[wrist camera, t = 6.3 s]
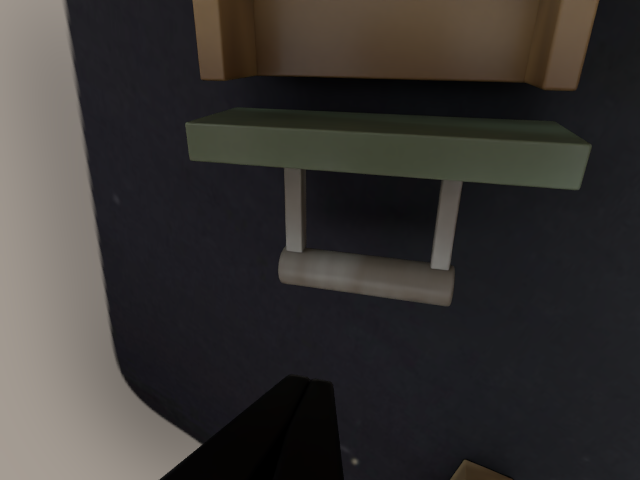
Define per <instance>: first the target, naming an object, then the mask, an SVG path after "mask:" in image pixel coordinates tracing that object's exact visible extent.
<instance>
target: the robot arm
mask: <svg viewBox="0 0 640 480" xmlns="http://www.w3.org/2000/svg"><path fill="white" fill-rule="evenodd" d="M160 480H344V477H343V468H342V459H341V450H340V441H339V433H338V424H337V415H336V406H335V397H334V388H333V384H332V383H331V382H330V381H324V380H319V379H312V380H310V379H309V378H308V377H304V376H299V375H293V374H290V375H288V376H286V377H285V378H284V379H283V380H281V381H280V382H279V383H278V384H276V385H275V386H274V387H273V388H272V389H270V390H269V391H268V392H267V393H265V394H264V395H263V396H262V397H260V398H259V399H258V400H257V401H256V402H254V403H253V404H252V405H251V406H249V407H248V408H247V409H246V410H244V411H243V412H242V413H241V414H240V415H238V416H237V417H236V418H235V419H233V420H232V421H231V422H230V423H229V424H227V425H226V426H225V427H224V428H222V429H221V430H220V431H219V432H217V433H216V434H215V435H214V436H213V437H211V438H210V439H209V440H208V441H206V442H205V443H204V444H203V445H201V446H200V447H199V448H198V449H197V450H195V451H194V452H193V453H192V454H190V455H189V456H188V457H187V458H185V459H184V460H183V461H182V462H181V463H179V464H178V465H177V466H176V467H174V468H173V469H172V470H171V471H170V472H168V473H167V474H166V475H165V476H163V477H162V478H161V479H160Z"/></svg>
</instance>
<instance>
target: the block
mask: <svg viewBox="0 0 640 480" xmlns="http://www.w3.org/2000/svg"><path fill="white" fill-rule="evenodd" d="M450 480H513V479H511V478H508V477H506V476H504V475H501V474H499V473H496V472H494V471H492V470H489V469H487V468H484V467H482V466H480V465H477V464H475V463H472V462H470V461H468V460H464V461H463V462H462V464H461V465H460V466H459V468H458V469H457V471H456V472H455V473H454V475H453V476H452V478H451V479H450Z"/></svg>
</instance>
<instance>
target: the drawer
mask: <svg viewBox="0 0 640 480" xmlns="http://www.w3.org/2000/svg"><path fill="white" fill-rule="evenodd" d="M598 3H599V0H193V9H194V19H195V29H196V38H197V48H198V57H199V67H200V77H201V79H202V80H210V81H227V80H233V79H239V78H246V77H252V76H285V77H324V78H362V79H401V80H440V81H479V82H517V83H528V84H530V85H533V86H535V87H538V88H540V89H543V90H554V91H574V90H576V89H577V87H578V83H579V79H580V75H581V71H582V67H583V63H584V59H585V55H586V51H587V47H588V43H589V39H590V35H591V31H592V27H593V23H594V19H595V15H596V11H597V7H598ZM185 126H186V134H187V142H188V150H189V158H190V160H191V161H202V162H215V163H228V164H241V165H254V166H267V167H280V168H284V184H285V219H286V247H284V249H283V251H282V253H281V256H280V260H279V267H278V274H279V279H280V281H281V282H282V283H285V284H292V285H299V286H306V287H313V288H320V289H327V290H335V291H342V292H349V293H356V294H363V295H370V296H377V297H384V298H391V299H398V300H406V301H413V302H420V303H427V304H434V305H441V306H450V304H451V301H452V296H453V290H454V279H455V269H454V266H452V265H450V261H451V254H452V248H453V242H454V235H455V229H456V222H457V216H458V210H459V203H460V197H461V190H462V184H463V182H476V183H489V184H502V185H515V186H528V187H541V188H554V189H567V190H579V189H580V187H581V183H582V180H583V176H584V172H585V169H586V165H587V162H588V158H589V155H590V151H591V147H592V146H591V144H589V143H588V142H586V141H585V140H583V139H582V138H580V137H578V136H577V135H575V134H574V133H572V132H570V131H569V130H567V129H566V128H564V127H563V126H561V125H559V124H558V123H556V122H554V121H534V120H511V119H489V118H466V117H443V116H421V115H398V114H375V113H353V112H330V111H307V110H285V109H262V108H240V107H236V108H233V109H229V110H226V111H223V112H219V113H216V114H213V115H209V116H206V117H203V118H199V119H196V120H192V121H189V122H186V124H185ZM306 170H319V171H332V172H345V173H358V174H372V175H385V176H398V177H411V178H424V179H437V180H441V186H440V194H439V201H438V209H437V216H436V224H435V231H434V239H433V246H432V254H431V263H429V262H421V261H412V260H404V259H396V258H387V257H379V256H370V255H362V254H354V253H345V252H337V251H329V250H320V249H312V248H305V247H306Z"/></svg>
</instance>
